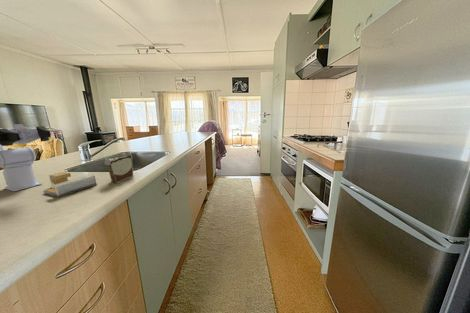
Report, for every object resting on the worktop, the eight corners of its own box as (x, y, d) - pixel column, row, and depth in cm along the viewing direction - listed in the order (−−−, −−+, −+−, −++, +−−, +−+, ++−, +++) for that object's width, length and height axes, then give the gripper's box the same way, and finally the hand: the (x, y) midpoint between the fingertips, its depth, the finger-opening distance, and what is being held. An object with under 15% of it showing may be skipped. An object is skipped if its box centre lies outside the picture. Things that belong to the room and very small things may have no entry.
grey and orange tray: (44, 193, 66) (41, 183, 65) (81, 182, 77) (79, 173, 76) (59, 197, 62) (56, 186, 61) (96, 184, 73) (94, 175, 72)
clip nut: (52, 187, 72) (48, 175, 71) (66, 183, 76) (63, 171, 75) (59, 188, 70) (55, 176, 69) (72, 184, 74) (69, 172, 73)
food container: (124, 174, 86) (120, 153, 83) (135, 174, 84) (132, 153, 82) (100, 183, 74) (95, 160, 72) (113, 184, 73) (108, 160, 70)
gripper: (-21, 126, 59) (-3, 125, 54) (38, 123, 72) (57, 121, 67) (-13, 147, 61) (5, 148, 56) (44, 140, 74) (63, 140, 69)
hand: (34, 135), depth 62 cm, fingers open, 7 cm apart
